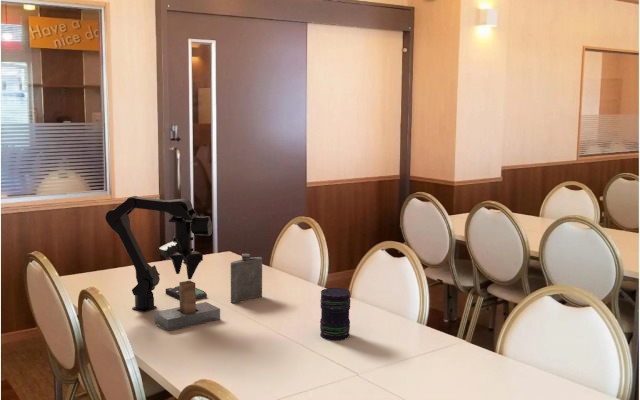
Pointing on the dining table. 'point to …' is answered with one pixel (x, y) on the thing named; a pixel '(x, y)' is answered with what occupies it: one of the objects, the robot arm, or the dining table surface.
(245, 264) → the flask
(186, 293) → the walnut peg
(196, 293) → the disk drive
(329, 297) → the storage jar
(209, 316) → the rail block
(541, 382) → the dining table surface
